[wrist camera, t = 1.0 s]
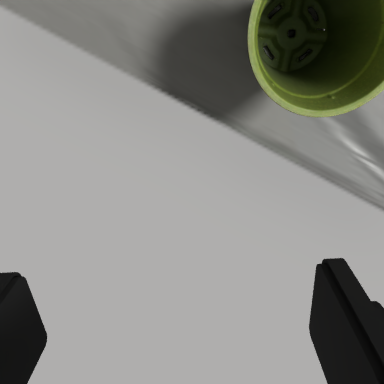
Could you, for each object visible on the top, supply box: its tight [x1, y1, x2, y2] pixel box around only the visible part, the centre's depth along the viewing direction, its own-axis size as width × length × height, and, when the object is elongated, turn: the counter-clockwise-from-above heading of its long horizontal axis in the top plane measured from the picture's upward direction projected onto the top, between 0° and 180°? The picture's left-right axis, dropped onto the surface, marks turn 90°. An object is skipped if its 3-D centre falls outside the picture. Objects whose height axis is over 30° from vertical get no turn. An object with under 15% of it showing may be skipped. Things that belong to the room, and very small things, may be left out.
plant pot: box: [247, 0, 384, 117], centre depth 28 cm, size 12×12×11 cm
